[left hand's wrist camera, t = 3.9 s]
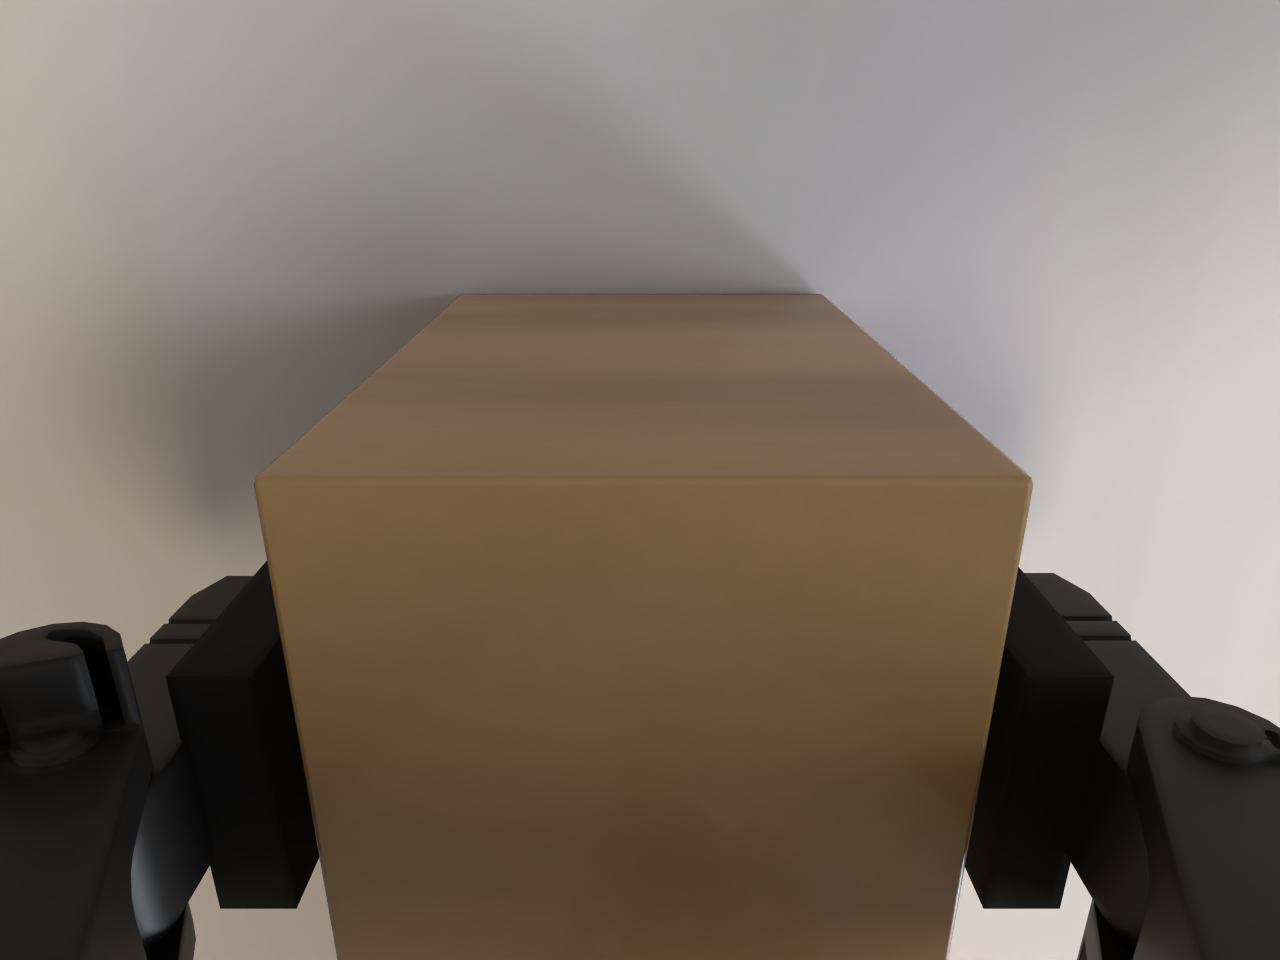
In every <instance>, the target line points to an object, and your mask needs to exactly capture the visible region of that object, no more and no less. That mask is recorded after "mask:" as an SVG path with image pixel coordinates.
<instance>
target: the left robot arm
mask: <svg viewBox="0 0 1280 960" xmlns="http://www.w3.org/2000/svg"><path fill="white" fill-rule="evenodd" d="M318 859H319V851H318V845H317V840H316V834H315V828H314V823H313V817H312V811H311V806H310V800H309V794H308V789H307V783H306V777H305V771H304V766H303V760H302V754H301V749H300V743H299V737H298V732H297V726H296V720H295V715H294V709H293V703H292V698H291V692H290V686H289V681H288V675H287V669H286V664H285V658H284V652H283V647H282V641H281V635H280V630H279V624H278V618H277V613H276V607H275V601H274V596H273V590H272V584H271V579H270V573H269V567H268V561H266V562H265V564H264V565H263V566H262V567H261V568H260V569H259V570H258V572H257V573H256V574H255V575H254V576H226V577H225V578H223V579H221V580H219V581H217V582H216V583H214V584H212V585H210V586H209V587H207V588H205V589H203V590H201V591H200V592H198V593H196V594H194V595H193V596H191V597H190V598H189V599H188V600H187V601H186V602H185V603H184V604H183V605H182V606H181V607H180V608H179V609H178V610H177V612H176V613H175V614H174V615H173V616H172V617H171V618H170V619H169V624H164V625H163V626H162V627H161V628H160V629H159V630H158V631H157V632H156V633H155V634H154V635H153V636H152V637H151V638H150V644H144V645H143V646H142V647H141V649H140V650H139V651H138V652H137V653H136V654H135V655H134V656H133V657H132V658H131V659H130V660H129V661H128V662H127V659H126V655H125V651H124V648H123V644H122V640H121V636H120V634H119V633H118V632H116V631H115V630H113V629H112V628H110V627H108V626H107V625H101V624H95V623H88V622H74V623H60V624H51V625H47V626H42V627H38V628H34V629H29V630H25V631H21V632H17V633H15V634H12V635H10V636H7V637H4V638H2V639H0V960H193V956H194V948H195V941H196V937H195V930H194V924H193V919H192V915H191V911H190V907H189V903H188V901H189V900H190V898H191V896H192V895H193V893H194V891H195V890H196V888H197V886H198V884H199V883H200V881H201V879H202V878H203V876H204V874H205V873H206V871H207V869H208V867H209V866H210V867H211V871H212V875H213V879H214V884H215V888H216V892H217V896H218V900H219V905H220V909H297V906H298V904H299V902H300V900H301V897H302V895H303V893H304V891H305V888H306V886H307V884H308V881H309V879H310V877H311V875H312V872H313V870H314V868H315V866H316V863H317V861H318ZM1070 863H1072V865H1073V866H1074V868H1075V870H1076V871H1077V873H1078V875H1079V876H1080V878H1081V880H1082V881H1083V883H1084V885H1085V886H1086V888H1087V890H1088V892H1089V893H1090V895H1091V897H1092V898H1093V899H1092V903H1091V907H1090V911H1089V915H1088V919H1087V923H1086V926H1085V930H1084V934H1083V938H1082V942H1081V946H1080V950H1079V954H1078V958H1077V960H1280V728H1279V727H1277V726H1276V725H1274V724H1273V723H1272V722H1270V721H1268V720H1266V719H1264V718H1262V717H1260V716H1257V715H1255V714H1253V713H1251V712H1248V711H1246V710H1244V709H1242V708H1239V707H1237V706H1233V705H1229V704H1225V703H1222V702H1218V701H1214V700H1210V699H1207V698H1197V697H1191V696H1190V695H1189V694H1188V693H1187V692H1186V691H1185V690H1184V689H1183V688H1182V687H1181V686H1180V685H1179V684H1178V683H1177V682H1176V681H1175V680H1174V679H1173V678H1172V677H1171V676H1170V675H1169V674H1168V673H1167V672H1166V671H1165V670H1164V669H1163V668H1162V667H1161V666H1160V665H1159V664H1158V663H1157V662H1156V661H1155V660H1154V659H1153V658H1152V657H1151V656H1150V655H1149V654H1148V653H1147V652H1146V651H1145V650H1144V649H1143V648H1142V646H1141V645H1140V644H1139V643H1138V642H1137V641H1131V635H1130V634H1129V633H1128V632H1127V631H1126V630H1125V629H1124V628H1123V627H1122V626H1121V625H1120V624H1119V623H1118V622H1117V621H1112V616H1111V615H1110V614H1109V613H1108V612H1107V611H1106V610H1105V609H1104V608H1103V607H1102V606H1101V605H1100V604H1099V603H1098V602H1097V601H1096V600H1095V599H1094V598H1093V597H1092V595H1091V594H1090V593H1088V592H1086V591H1085V590H1083V589H1081V588H1079V587H1077V586H1076V585H1074V584H1072V583H1070V582H1068V581H1067V580H1065V579H1063V578H1061V577H1059V576H1058V575H1056V574H1054V573H1023V572H1022V570H1021V569H1020V568H1019V567H1018V572H1017V577H1016V583H1015V588H1014V594H1013V600H1012V605H1011V611H1010V616H1009V622H1008V627H1007V633H1006V639H1005V644H1004V650H1003V655H1002V661H1001V666H1000V672H999V678H998V683H997V689H996V694H995V700H994V705H993V711H992V717H991V722H990V728H989V733H988V739H987V744H986V750H985V756H984V761H983V767H982V772H981V778H980V784H979V789H978V795H977V800H976V806H975V811H974V817H973V823H972V828H971V834H970V839H969V845H968V850H967V856H966V862H965V868H966V870H967V872H968V875H969V877H970V879H971V881H972V884H973V886H974V888H975V890H976V893H977V895H978V897H979V899H980V902H981V904H982V906H983V908H984V909H1060V905H1061V901H1062V896H1063V892H1064V888H1065V884H1066V879H1067V875H1068V871H1069V867H1070Z"/></svg>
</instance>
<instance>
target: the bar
mask: <svg viewBox="0 0 1280 960" xmlns="http://www.w3.org/2000/svg"><path fill="white" fill-rule="evenodd" d="M254 488H255V493H256V499H257V505H258V510H259V516H260V522H261V527H262V533H263V539H264V544H265V550H266V556H267V561H268V567H269V573H270V579H271V584H272V590H273V596H274V601H275V607H276V613H277V618H278V624H279V630H280V635H281V641H282V647H283V652H284V658H285V664H286V669H287V675H288V681H289V686H290V692H291V698H292V703H293V709H294V715H295V720H296V726H297V732H298V737H299V743H300V749H301V754H302V760H303V766H304V771H305V777H306V783H307V789H308V794H309V800H310V806H311V811H312V817H313V823H314V828H315V834H316V840H317V845H318V851H319V857H320V862H321V868H322V874H323V879H324V885H325V891H326V896H327V902H328V908H329V913H330V919H331V925H332V930H333V936H334V942H335V947H336V953H337V959H338V960H948V956H949V951H950V945H951V940H952V934H953V928H954V923H955V917H956V912H957V906H958V901H959V895H960V889H961V884H962V878H963V873H964V867H965V862H966V856H967V850H968V845H969V839H970V834H971V828H972V823H973V817H974V811H975V806H976V800H977V795H978V789H979V784H980V778H981V772H982V767H983V761H984V756H985V750H986V744H987V739H988V733H989V728H990V722H991V717H992V711H993V705H994V700H995V694H996V689H997V683H998V678H999V672H1000V666H1001V661H1002V655H1003V650H1004V644H1005V639H1006V633H1007V627H1008V622H1009V616H1010V611H1011V605H1012V600H1013V594H1014V588H1015V583H1016V577H1017V572H1018V566H1019V561H1020V555H1021V549H1022V544H1023V538H1024V533H1025V527H1026V522H1027V516H1028V510H1029V505H1030V499H1031V494H1032V488H1033V483H1032V479H1031V477H1030V476H1029V475H1028V474H1026V473H1025V472H1024V471H1023V470H1022V469H1021V468H1020V467H1019V466H1017V465H1016V464H1015V463H1014V462H1013V461H1012V460H1011V459H1009V458H1008V457H1007V456H1006V455H1005V454H1004V453H1003V452H1001V451H1000V450H999V449H998V448H997V447H996V446H995V445H993V444H992V443H991V442H990V441H989V440H988V439H987V438H985V437H984V436H983V435H982V434H981V433H980V432H979V431H977V430H976V429H975V428H974V427H973V426H972V425H971V424H969V423H968V422H967V421H966V420H965V419H964V418H963V417H961V416H960V415H959V414H958V413H957V412H956V411H955V410H953V409H952V408H951V407H950V406H949V405H948V404H947V403H945V402H944V401H943V400H942V399H941V398H940V397H939V396H937V395H936V394H935V393H934V392H933V391H932V390H931V389H930V388H928V387H927V386H926V385H925V384H924V383H923V382H922V381H920V380H919V379H918V378H917V377H916V376H915V375H914V374H912V373H911V372H910V371H909V370H908V369H907V368H906V367H904V366H903V365H902V364H901V363H900V362H899V361H898V360H896V359H895V358H894V357H893V356H892V355H891V354H890V353H888V352H887V351H886V350H885V349H884V348H883V347H882V346H880V345H879V344H878V343H877V342H876V341H875V340H874V339H872V338H871V337H870V336H869V335H868V334H867V333H866V332H864V331H863V330H862V329H861V328H860V327H859V326H858V325H856V324H855V323H854V322H853V321H852V320H851V319H850V318H849V317H847V316H846V315H845V314H844V313H843V312H842V311H841V310H839V309H838V308H837V307H836V306H835V305H834V304H833V303H831V302H830V301H829V300H828V299H827V298H826V297H825V296H823V295H821V294H462V295H460V296H459V297H458V298H457V299H455V300H454V301H453V302H452V303H451V304H450V305H449V306H448V307H447V308H445V309H444V310H443V311H442V312H441V313H440V314H439V315H438V316H436V317H435V318H434V319H433V320H432V321H431V322H430V323H429V324H427V325H426V326H425V327H424V328H423V329H422V330H421V331H420V332H418V333H417V334H416V335H415V336H414V337H413V338H412V339H411V340H410V341H408V342H407V343H406V344H405V345H404V346H403V347H402V348H401V349H399V350H398V351H397V352H396V353H395V354H394V355H393V356H392V357H390V358H389V359H388V360H387V361H386V362H385V363H384V364H383V365H382V366H380V367H379V368H378V369H377V370H376V371H375V372H374V373H373V374H371V375H370V376H369V377H368V378H367V379H366V380H365V381H364V382H362V383H361V384H360V385H359V386H358V387H357V388H356V389H355V390H353V391H352V392H351V393H350V394H349V395H348V396H347V397H346V398H345V399H343V400H342V401H341V402H340V403H339V404H338V405H337V406H336V407H334V408H333V409H332V410H331V411H330V412H329V413H328V414H327V415H325V416H324V417H323V418H322V419H321V420H320V421H319V422H318V423H316V424H315V425H314V426H313V427H312V428H311V429H310V430H309V431H308V432H306V433H305V434H304V435H303V436H302V437H301V438H300V439H299V440H297V441H296V442H295V443H294V444H293V445H292V446H291V447H290V448H288V449H287V450H286V451H285V452H284V453H283V454H282V455H281V456H280V457H278V458H277V459H276V460H275V461H274V462H273V463H272V464H271V465H269V466H268V467H267V468H266V469H265V470H264V471H263V472H262V473H260V474H259V475H258V476H257V477H256V479H255V483H254Z"/></svg>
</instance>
